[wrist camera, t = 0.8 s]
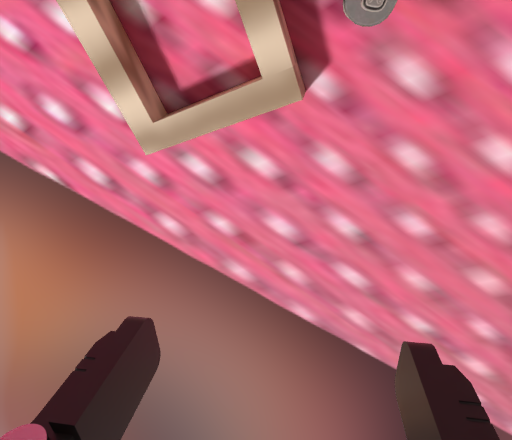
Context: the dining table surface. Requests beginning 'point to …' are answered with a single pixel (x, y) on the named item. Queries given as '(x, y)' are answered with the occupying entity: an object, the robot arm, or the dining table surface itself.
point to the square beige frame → (202, 112)
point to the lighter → (368, 11)
